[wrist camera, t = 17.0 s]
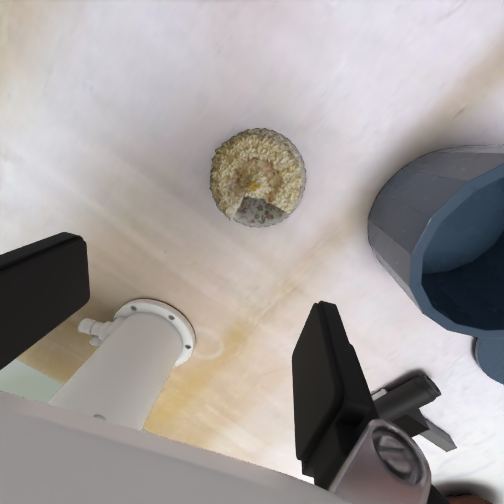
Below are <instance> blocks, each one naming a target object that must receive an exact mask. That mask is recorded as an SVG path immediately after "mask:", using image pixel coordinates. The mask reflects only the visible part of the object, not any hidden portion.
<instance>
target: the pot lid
mask: <svg viewBox="0 0 504 504" xmlns="http://www.w3.org/2000/svg"><path fill="white" fill-rule="evenodd" d="M475 357H476V360H477V363H478V365H479V366H480V368H481V369H482V370H483V371H484V372H485V373H486V374H487V375H488V376H489V377H490V378H492V379H494V380H495V381H497V382H499V383H502V384H504V337H502V338H478V340H477V343H476V346H475Z"/></svg>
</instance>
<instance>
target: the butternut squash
mask: <svg viewBox="0 0 504 504" xmlns="http://www.w3.org/2000/svg"><path fill="white" fill-rule="evenodd" d="M445 499H446V500H447V501H448V502H449V503H450V504H492V503H491V502H489V501H487V500H485V499H483V498H481V497H478V496H472V495H462V496H456V495H455V496H448V497H446V498H445Z"/></svg>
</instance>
